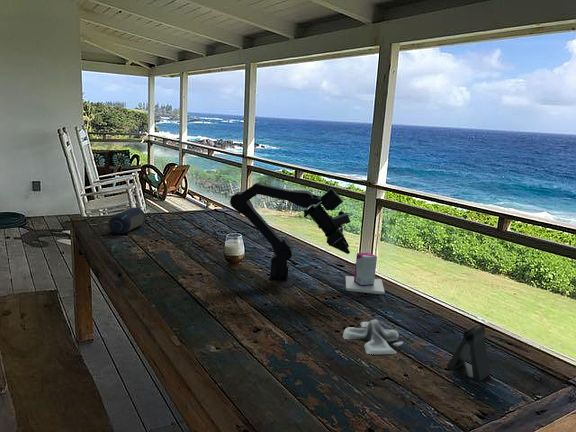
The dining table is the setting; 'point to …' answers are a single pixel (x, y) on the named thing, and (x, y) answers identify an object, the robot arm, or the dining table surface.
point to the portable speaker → (127, 220)
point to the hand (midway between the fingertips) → (348, 250)
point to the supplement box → (365, 269)
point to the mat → (353, 286)
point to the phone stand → (479, 358)
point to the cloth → (373, 337)
